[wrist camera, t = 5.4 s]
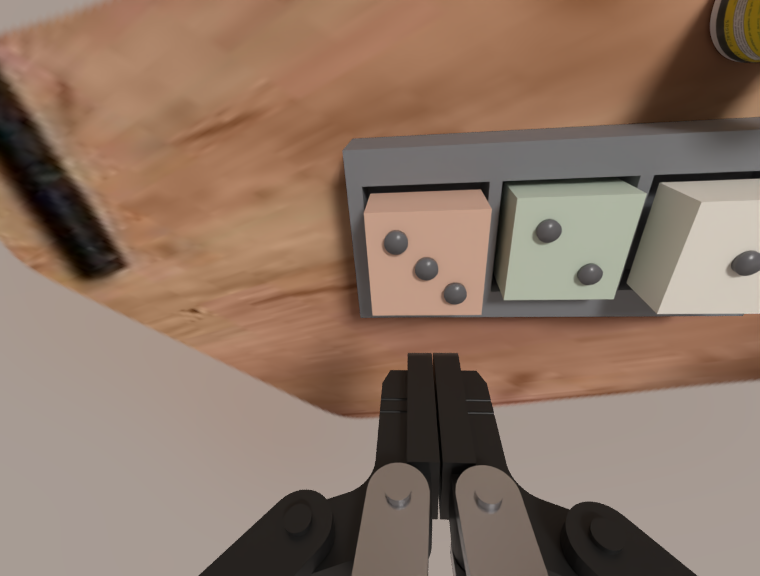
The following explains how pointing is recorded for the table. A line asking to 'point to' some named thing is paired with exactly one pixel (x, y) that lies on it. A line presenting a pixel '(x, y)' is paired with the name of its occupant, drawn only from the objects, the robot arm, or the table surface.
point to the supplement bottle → (736, 29)
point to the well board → (546, 161)
